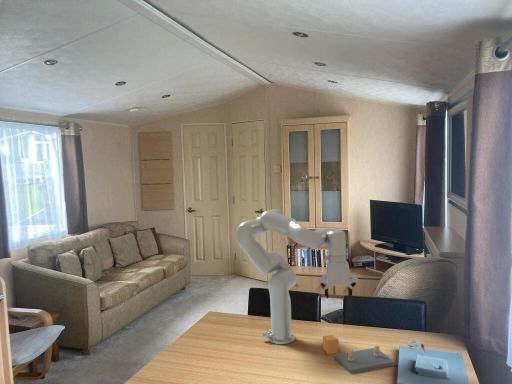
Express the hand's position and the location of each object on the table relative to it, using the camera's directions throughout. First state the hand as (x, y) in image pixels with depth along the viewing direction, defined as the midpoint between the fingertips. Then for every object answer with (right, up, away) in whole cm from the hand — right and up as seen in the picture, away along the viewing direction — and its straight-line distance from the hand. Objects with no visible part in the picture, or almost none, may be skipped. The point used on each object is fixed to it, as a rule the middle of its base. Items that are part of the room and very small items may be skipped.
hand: (338, 297), depth 178 cm
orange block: (-3, -23, 0) cm, 24 cm away
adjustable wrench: (+34, -23, -6) cm, 42 cm away
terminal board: (+8, -24, -11) cm, 27 cm away
